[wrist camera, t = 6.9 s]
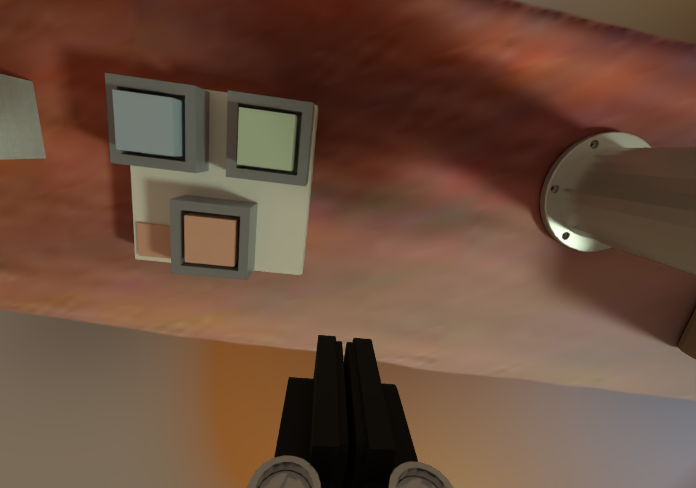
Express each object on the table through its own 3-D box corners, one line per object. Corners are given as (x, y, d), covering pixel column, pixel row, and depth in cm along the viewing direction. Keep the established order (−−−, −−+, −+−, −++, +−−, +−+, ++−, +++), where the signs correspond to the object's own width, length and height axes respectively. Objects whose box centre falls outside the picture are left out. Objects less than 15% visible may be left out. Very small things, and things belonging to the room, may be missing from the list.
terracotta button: (242, 215, 30) (235, 220, 28) (240, 258, 31) (233, 266, 29) (195, 210, 30) (184, 215, 27) (195, 253, 31) (184, 261, 28)
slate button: (186, 102, 26) (172, 97, 24) (186, 155, 27) (173, 156, 25) (131, 95, 26) (112, 89, 23) (134, 149, 27) (116, 149, 25)
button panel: (318, 109, 31) (316, 100, 26) (303, 265, 36) (298, 287, 30) (145, 85, 30) (101, 69, 24) (151, 249, 34) (115, 270, 28)
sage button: (298, 118, 27) (295, 114, 25) (294, 169, 28) (290, 171, 26) (246, 110, 27) (238, 107, 24) (244, 163, 28) (237, 164, 25)
